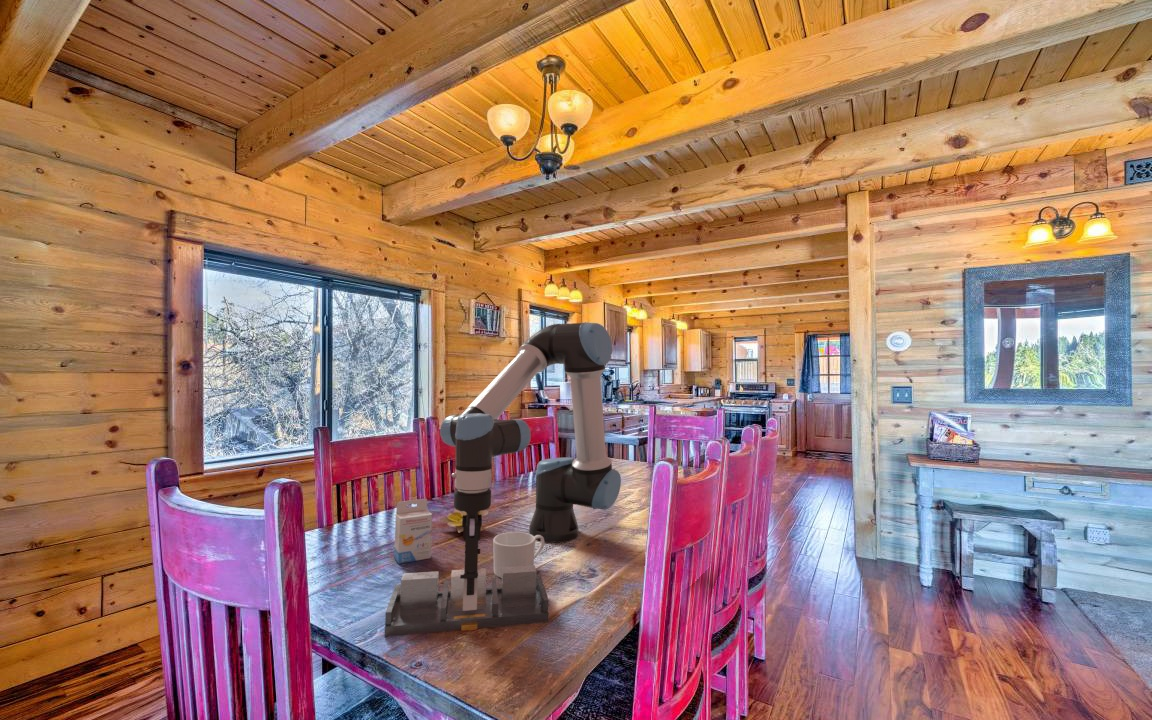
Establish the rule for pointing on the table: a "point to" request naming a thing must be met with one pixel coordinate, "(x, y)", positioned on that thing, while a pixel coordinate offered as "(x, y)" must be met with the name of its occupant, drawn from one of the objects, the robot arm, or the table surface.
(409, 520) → the ink box
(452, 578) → the panel
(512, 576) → the rack
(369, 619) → the table surface
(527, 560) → the mug
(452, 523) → the decorative flower
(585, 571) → the table surface
